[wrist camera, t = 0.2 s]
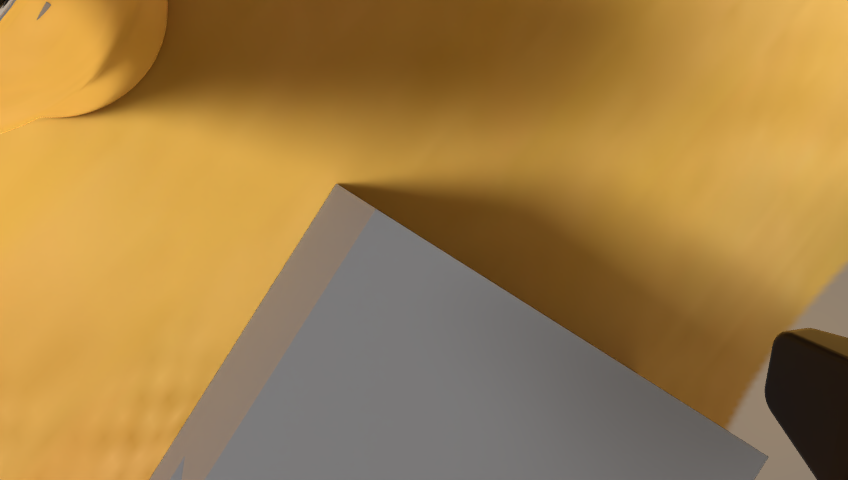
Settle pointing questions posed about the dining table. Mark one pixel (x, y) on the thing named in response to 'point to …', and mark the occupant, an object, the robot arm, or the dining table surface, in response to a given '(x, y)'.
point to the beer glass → (73, 54)
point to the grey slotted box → (428, 380)
